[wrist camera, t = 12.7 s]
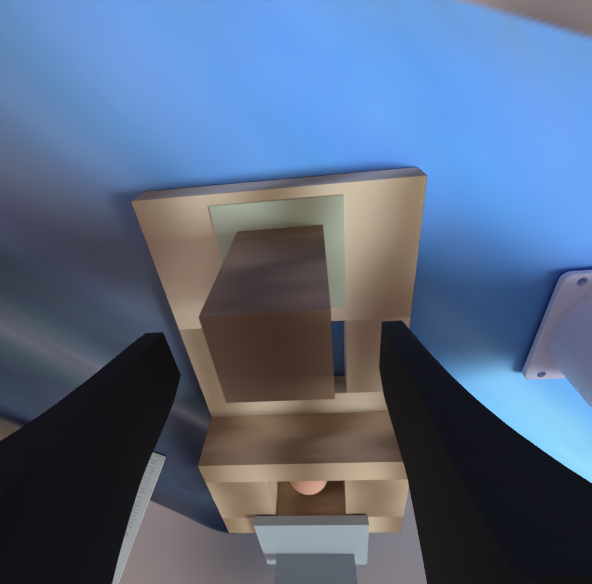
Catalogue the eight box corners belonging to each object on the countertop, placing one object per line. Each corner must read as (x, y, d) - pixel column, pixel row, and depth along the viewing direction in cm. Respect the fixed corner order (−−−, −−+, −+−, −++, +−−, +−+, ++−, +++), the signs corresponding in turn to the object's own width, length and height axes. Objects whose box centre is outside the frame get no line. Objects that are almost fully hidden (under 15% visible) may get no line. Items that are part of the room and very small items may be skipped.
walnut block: (322, 225, 15) (330, 309, 10) (326, 297, 17) (334, 399, 12) (237, 231, 15) (198, 317, 10) (251, 301, 18) (226, 402, 12)
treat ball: (327, 438, 24) (329, 480, 22) (328, 461, 26) (331, 502, 24) (286, 440, 25) (284, 481, 22) (290, 462, 26) (289, 503, 24)
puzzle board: (417, 167, 15) (459, 202, 11) (387, 465, 29) (400, 532, 25) (144, 191, 16) (87, 232, 12) (240, 468, 30) (229, 532, 26)
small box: (94, 430, 27) (-46, 665, 17) (168, 455, 29) (84, 683, 18) (75, 473, 31) (-49, 686, 20) (141, 492, 33) (58, 698, 22)
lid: (367, 515, 23) (373, 561, 21) (365, 555, 27) (370, 597, 25) (254, 516, 24) (249, 560, 22) (268, 555, 28) (265, 596, 25)
